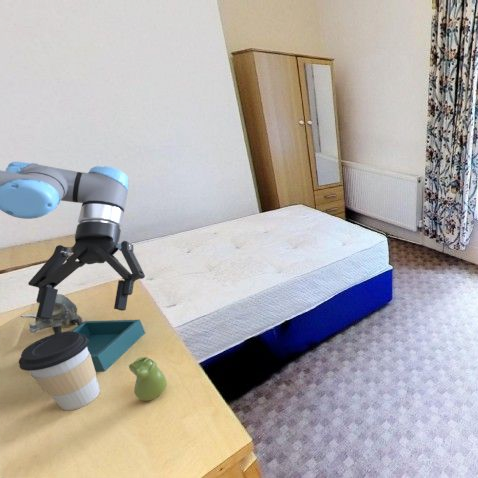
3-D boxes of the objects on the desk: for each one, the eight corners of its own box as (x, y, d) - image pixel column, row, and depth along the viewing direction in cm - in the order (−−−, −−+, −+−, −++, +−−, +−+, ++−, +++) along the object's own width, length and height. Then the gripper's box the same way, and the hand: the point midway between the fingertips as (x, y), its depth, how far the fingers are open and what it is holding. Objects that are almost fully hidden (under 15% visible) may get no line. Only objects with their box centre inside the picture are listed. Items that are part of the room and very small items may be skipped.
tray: (41, 373, 74) (32, 358, 72) (91, 334, 87) (84, 320, 85) (104, 371, 76) (97, 356, 74) (145, 333, 88) (140, 319, 86)
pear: (174, 391, 71) (161, 357, 67) (146, 410, 67) (130, 374, 63) (161, 381, 74) (148, 348, 70) (133, 398, 69) (117, 363, 65)
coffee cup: (66, 387, 71) (36, 334, 65) (119, 376, 74) (95, 324, 68) (37, 424, 63) (-1, 367, 57) (98, 410, 66) (68, 355, 60)
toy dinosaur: (51, 313, 94) (34, 281, 90) (91, 303, 99) (77, 271, 95) (39, 356, 79) (18, 319, 75) (87, 341, 84) (70, 305, 80)
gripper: (167, 229, 85) (158, 308, 77) (48, 236, 78) (26, 323, 71) (151, 216, 78) (139, 303, 71) (19, 223, 71) (-9, 319, 64)
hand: (82, 313), depth 71 cm, fingers open, 13 cm apart
